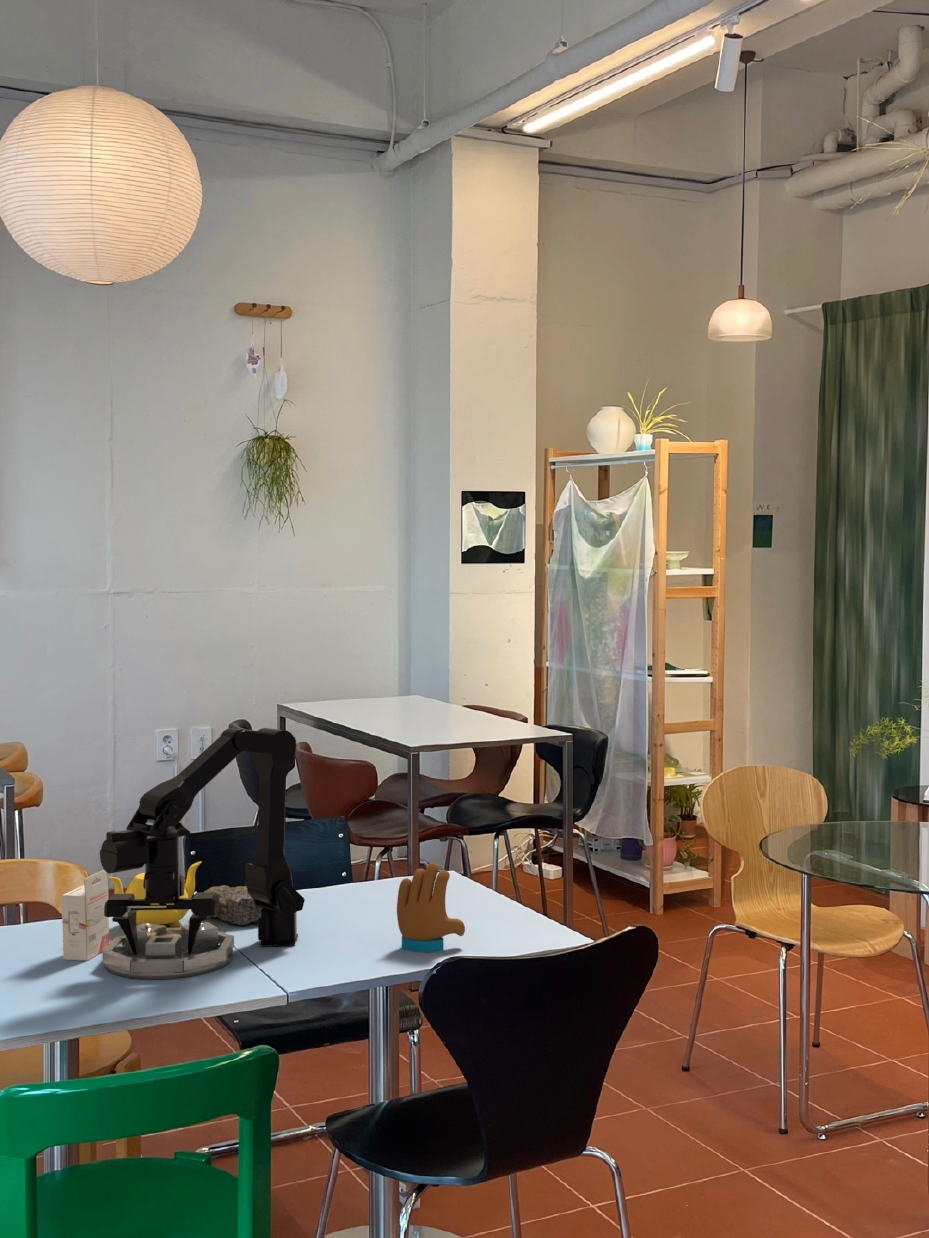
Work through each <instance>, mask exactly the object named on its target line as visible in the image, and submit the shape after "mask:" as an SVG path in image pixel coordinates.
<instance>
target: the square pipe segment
mask: <svg viewBox="0 0 929 1238" xmlns="http://www.w3.org/2000/svg"><path fill="white" fill-rule="evenodd" d="M145 947H146V959H181V936H152V937H151V938H150V939H149V940H148V942H147V943H146V944H145Z"/></svg>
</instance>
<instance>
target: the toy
mask: <svg viewBox="0 0 929 1238" xmlns="http://www.w3.org/2000/svg"><path fill="white" fill-rule="evenodd" d="M450 877H451V876H450V872H449V871H447V870H445V869H442V870H440V871H439V866H438V864H437V863H435V862H430V863H428V865H427V867H426V869H424V868H418V869H416V870H415V872H414V873H413V875H412V879H410V878H408V877H407V878H403V879H402V880H401V881H400V884H399V886H398V887H399V888H398V891H397V893H398V894H397V901H396V916H397V917H396V919H397V924H398V929H399V931H400V934H401V949H403V950H406V951H410V952H415V953H416V952H417V953H438V952H442V951H444V937H445V936H447V935H451V934H456V935H457V936H458V937H459V936H460V937H463V936H464V934H465V932H466V927H465V924H464V922H463V920H461V919H459V918H450V917H449V916H448V914H447V910H446V909H447V908H446V895H447V886H448V883H449V880H450Z"/></svg>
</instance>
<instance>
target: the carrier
mask: <svg viewBox="0 0 929 1238" xmlns="http://www.w3.org/2000/svg"><path fill="white" fill-rule="evenodd" d="M136 927H137V936H138V954H137V955H134V953H133V951H132V948H131V946H130V944H129V942H128V939H127V937H126V935H125V934H124V935H121V936H116V937H114V938H113V939H112V941H110V942H109V945H108V946H107V947H106V948H105V949H104V950H103V952H101V953H102V954H101V955H102V956H101V957H102V958H101V959H102V963H103V964H105V965H104V967H105V969H106V971H107V972H109V973H110V974H112V975H115V976H118V977H122V978H125V979H126V978H127V979H132V980H133V979H134V980H144V981H145V980H148V981H149V980H150V981H151V980H153V981H155V980H158V981H159V980H163V981H164V980H173V979H184V978H190V977H195V976H201V975H204V974H208V973H212V972H215V971H217V970H220V969H223V968H225V967H226V966H227V965H229V964H230V963H231V962H232V961H233V959H234V947H235V935H233V934H229V933H225V932H223V931H219V930H218V929H219V928H218V927H217V926H216V925H215V924H212V923H211V922H209V921H205V922H204V921H202V923H201V925H200V928H199V930H198V934H197V937H196V940H195V943H194V947H193V950H192V953H191V954H188V935H189V924H183V925H181V926H180V927H167V926H166V925H164V924H161V925H157V924H150V923H142V924H140V925H137V926H136ZM152 936H181V959H146V947H145V944H146V943H147V942H148V940H149V939H150V938H151V937H152Z"/></svg>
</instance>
